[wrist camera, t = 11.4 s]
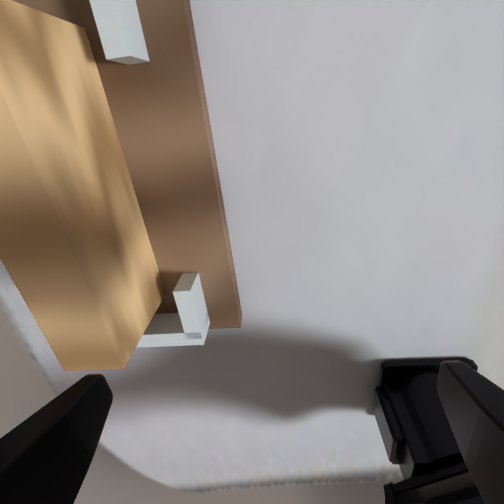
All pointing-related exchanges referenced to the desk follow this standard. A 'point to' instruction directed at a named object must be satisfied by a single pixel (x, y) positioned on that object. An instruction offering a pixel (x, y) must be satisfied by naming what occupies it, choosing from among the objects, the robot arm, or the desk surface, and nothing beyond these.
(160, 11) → the holder
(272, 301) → the desk surface
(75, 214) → the tan wooden bar
